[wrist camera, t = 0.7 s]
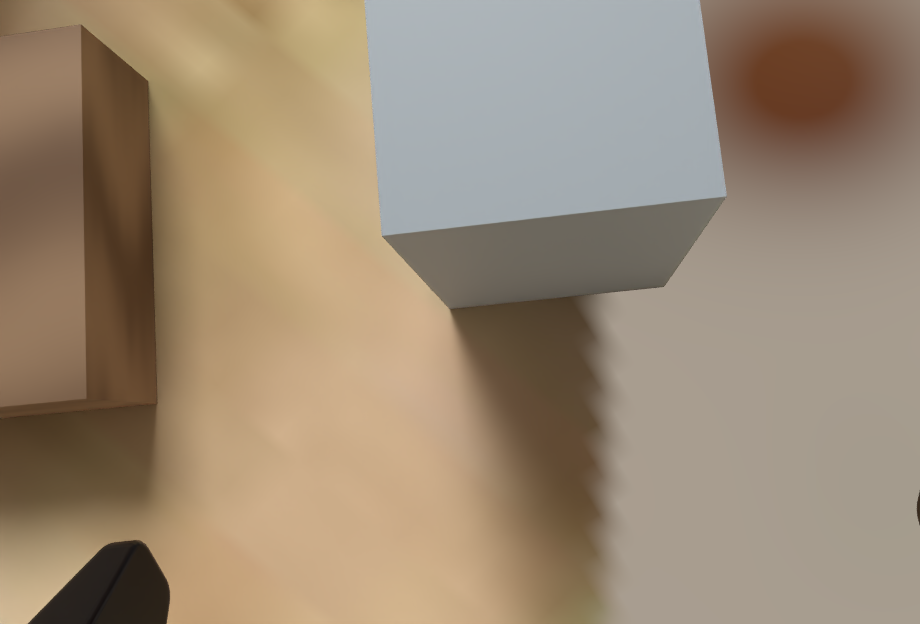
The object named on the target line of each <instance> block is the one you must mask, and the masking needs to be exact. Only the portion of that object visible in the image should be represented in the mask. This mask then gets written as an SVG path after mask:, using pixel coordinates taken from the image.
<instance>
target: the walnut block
mask: <svg viewBox="0 0 920 624" xmlns="http://www.w3.org/2000/svg"><path fill="white" fill-rule="evenodd" d="M149 404H157V375H156V341H155V307H154V273H153V239H152V204H151V170H150V136H149V102H148V81H147V80H146V79H145V78H144V77H142V76H141V75H140V74H139V73H138V72H136V71H135V70H134V69H133V68H132V67H131V66H129V65H128V64H127V63H126V62H125V61H123V60H122V59H121V58H120V57H119V56H118V55H116V54H115V53H114V52H113V51H112V50H110V49H109V48H108V47H107V46H106V45H104V44H103V43H102V42H101V41H100V40H99V39H97V38H96V37H95V36H94V35H93V34H91V33H90V32H89V31H88V30H87V29H86V28H84V27H83V26H82V25H74V26H67V27H60V28H54V29H47V30H40V31H34V32H27V33H20V34H13V35H7V36H0V418H11V417H22V416H32V415H43V414H53V413H64V412H75V411H85V410H96V409H106V408H117V407H128V406H138V405H149Z"/></svg>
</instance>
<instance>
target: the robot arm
mask: <svg viewBox="0 0 920 624" xmlns="http://www.w3.org/2000/svg"><path fill="white" fill-rule="evenodd" d="M917 516H918V521H919V524H920V493H919V497H918V501H917ZM169 604H170V590H169V585H168V582H167V579H166V578H165V576H164V574H163V572H162V571H161V569H160V567H159V566H158V564H157V562H156V560H155V559H154V557H153V555H152V553H151V552H150V550H149V548H148V547H147V545H146V544H145V543H143V542H142V541H139V540H133V541H123V542H114V543H110V544H108V545H106V546H104V547H103V548H102V549H101V550H100V551H99V552H98V553H97V554H96V555H95V556H94V557H93V558H92V559H91V560H90V561H89V562H88V563H87V564H86V565H85V566H84V567H83V568H82V569H81V570H80V571H79V572H78V573H77V574H76V575H75V576H74V577H73V578H72V579H71V580H70V581H69V582H68V583H67V584H66V585H65V586H64V587H63V588H62V589H61V590H60V591H59V592H58V593H57V594H56V595H55V596H54V597H53V599H52V600H51V601H50V602H49V603H48V604H47V605H46V606H45V607H44V608H43V609H42V610H41V611H40V612H39V613H38V614H37V615H36V616H35V617H34V618H33V619H32V620H31V621H30V622H29V623H28V624H167V617H168V611H169Z"/></svg>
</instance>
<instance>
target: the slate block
mask: <svg viewBox="0 0 920 624" xmlns="http://www.w3.org/2000/svg"><path fill="white" fill-rule="evenodd" d="M365 12H366V26H367V39H368V53H369V67H370V81H371V94H372V108H373V122H374V135H375V149H376V163H377V177H378V190H379V204H380V218H381V231H382V237H383V238H384V239H385V240H386V241H387V242H388V243H389V244H390V245H391V246H392V247H393V248H394V250H395V251H396V252H397V253H398V254H399V255H400V256H401V257H402V258H403V259H404V260H405V261H406V262H407V264H408V265H409V266H410V267H411V268H412V269H413V270H414V271H415V272H416V273H417V274H418V275H419V277H420V278H421V279H422V280H423V281H424V282H425V283H426V284H427V285H428V286H429V287H430V288H431V289H432V291H433V292H434V293H435V294H436V295H437V296H438V297H439V298H440V299H441V300H442V301H443V302H444V303H445V305H446V306H447V307H448V308H449V309H455V308H464V307H474V306H484V305H493V304H503V303H513V302H522V301H532V300H541V299H551V298H561V297H570V296H580V295H589V294H600V293H610V292H618V291H629V290H638V289H647V288H657V287H664V286H665V285H666V283H667V282H668V280H669V279H670V277H671V276H672V275H673V273H674V272H675V270H676V269H677V267H678V266H679V264H680V263H681V261H682V260H683V259H684V257H685V256H686V254H687V253H688V251H689V250H690V249H691V247H692V246H693V244H694V243H695V241H696V240H697V238H698V237H699V236H700V234H701V233H702V231H703V230H704V228H705V227H706V226H707V224H708V223H709V221H710V220H711V218H712V217H713V215H714V214H715V213H716V211H717V210H718V208H719V207H720V205H721V204H722V202H723V201H724V200H725V198H726V197H727V195H726V187H725V181H724V173H723V166H722V159H721V152H720V144H719V137H718V130H717V123H716V116H715V108H714V101H713V94H712V87H711V80H710V72H709V66H708V58H707V51H706V43H705V36H704V29H703V22H702V15H701V8H700V0H365Z"/></svg>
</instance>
